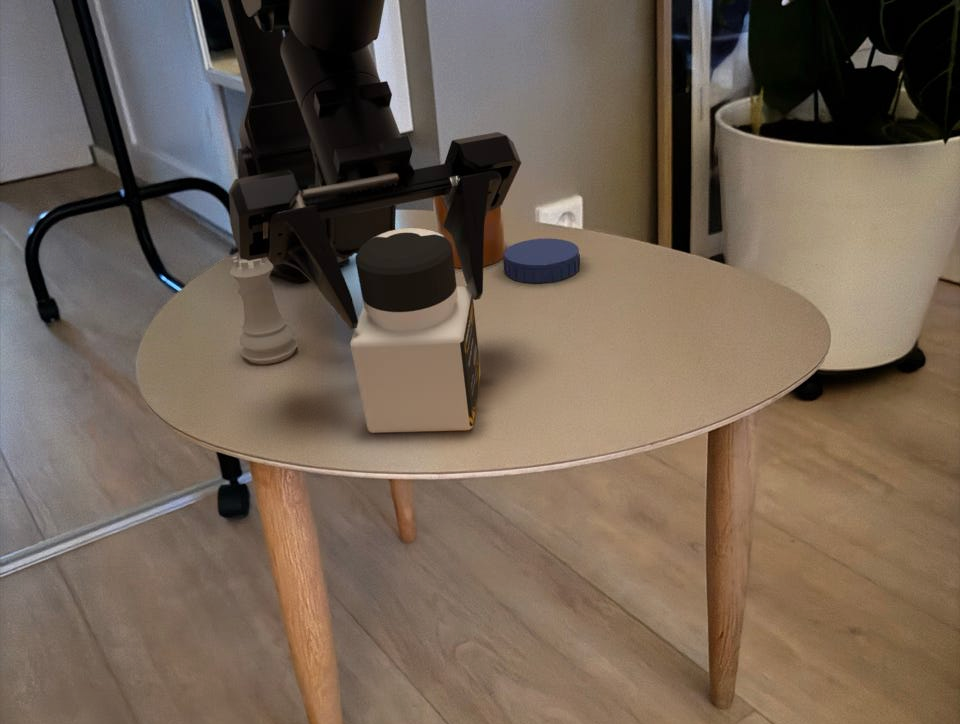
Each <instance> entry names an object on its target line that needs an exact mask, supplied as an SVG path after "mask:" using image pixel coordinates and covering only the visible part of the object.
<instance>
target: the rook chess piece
mask: <svg viewBox="0 0 960 724" xmlns="http://www.w3.org/2000/svg"><path fill="white" fill-rule="evenodd" d="M231 259H232V264H233V265H232V267H231V268H230V271H229V273H230V275H231V277H233V279H235V280H236V281H237V282H238V284H239V286H238V288H237V293H238V294H239V295H240V296H241V300H242V307H243V316H244V321H243V326H241V329H242V332H241V334H240V336H239V345H240V346H242V347H243V348H242V349H241V356H242V357H243V358H244V359H246V360H247V361H248V362H250V363H252V364H257V365H271V364H276V363H280V362H282V361H284V360H286V359H288V358H290V357H291V356H293V354H294V352H295V351H296V348H297V347H298V342H297V340H296V339H294V336H295V331H294V329H293V327H292V326H291V325H289V324H288V323H287V320H286V318H285V317H283V316H282V313H281V312H280V310H279V307H278V304H277V302H276V299H275V295H274V289H275V283H274V282H273V281H271V279H270V275H271V271H272V269H273V264H272V263H270V262H269V260H268V258H267V257H265V258H260V259H255V260H250V261H248V260H245V259H241V258H240V255H239V254H238V256H233V257H231Z"/></svg>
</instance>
